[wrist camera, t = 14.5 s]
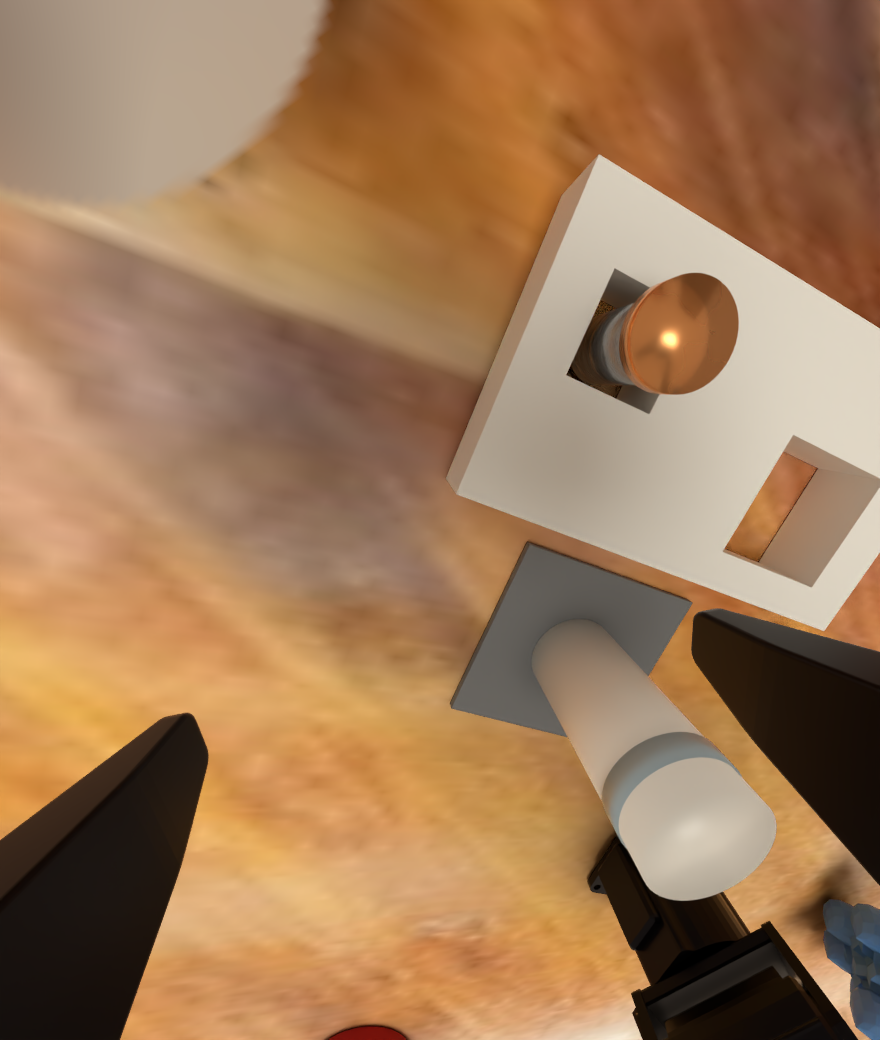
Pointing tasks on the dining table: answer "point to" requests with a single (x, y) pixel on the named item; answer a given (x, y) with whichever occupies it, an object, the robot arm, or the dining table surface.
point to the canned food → (369, 1034)
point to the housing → (683, 411)
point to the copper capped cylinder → (662, 338)
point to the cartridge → (652, 768)
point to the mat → (540, 606)
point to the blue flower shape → (857, 958)
